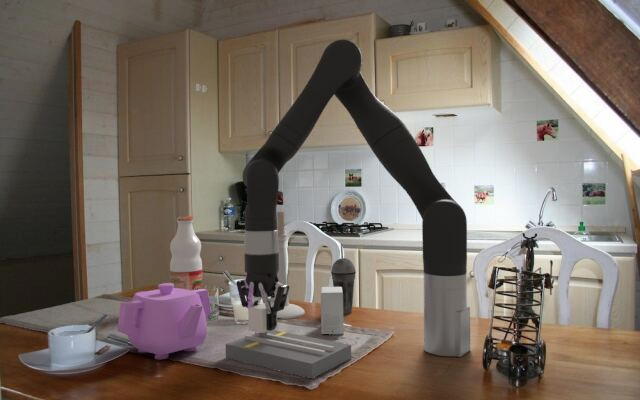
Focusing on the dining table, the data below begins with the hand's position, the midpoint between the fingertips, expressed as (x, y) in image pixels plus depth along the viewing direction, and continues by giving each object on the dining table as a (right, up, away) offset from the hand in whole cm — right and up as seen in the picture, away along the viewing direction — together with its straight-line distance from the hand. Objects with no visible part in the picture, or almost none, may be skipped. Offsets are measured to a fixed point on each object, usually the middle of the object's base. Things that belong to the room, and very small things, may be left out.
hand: (262, 327), depth 116 cm
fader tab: (0, -2, 0) cm, 2 cm away
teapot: (-22, -6, +4) cm, 23 cm away
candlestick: (+2, -5, +36) cm, 36 cm away
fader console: (+6, -6, -4) cm, 9 cm away
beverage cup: (+20, -4, +37) cm, 42 cm away
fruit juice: (-27, -5, +43) cm, 51 cm away
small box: (+16, -5, +17) cm, 24 cm away
